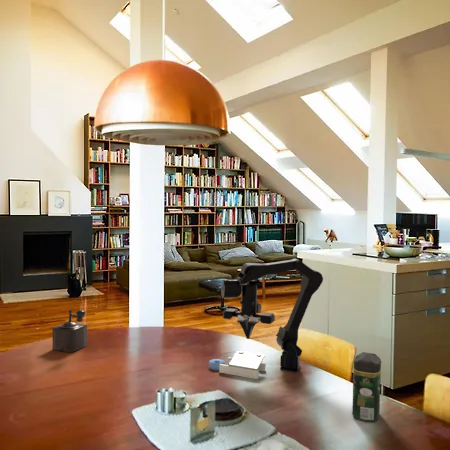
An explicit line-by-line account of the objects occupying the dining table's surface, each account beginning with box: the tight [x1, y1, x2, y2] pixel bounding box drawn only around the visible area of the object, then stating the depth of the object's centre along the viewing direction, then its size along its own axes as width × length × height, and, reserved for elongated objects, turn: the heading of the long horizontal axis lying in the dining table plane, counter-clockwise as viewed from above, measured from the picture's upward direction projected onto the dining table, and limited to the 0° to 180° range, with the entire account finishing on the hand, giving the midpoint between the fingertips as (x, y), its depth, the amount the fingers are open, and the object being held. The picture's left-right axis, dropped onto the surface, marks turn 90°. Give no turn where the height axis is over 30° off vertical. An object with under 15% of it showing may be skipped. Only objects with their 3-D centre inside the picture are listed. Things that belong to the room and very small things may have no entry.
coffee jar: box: [351, 351, 382, 422], centre depth 145 cm, size 10×8×19 cm
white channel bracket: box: [218, 356, 267, 380], centre depth 179 cm, size 15×9×3 cm, turn 67°
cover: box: [229, 350, 265, 369], centre depth 179 cm, size 11×9×1 cm
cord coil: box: [208, 358, 226, 371], centre depth 183 cm, size 6×6×3 cm
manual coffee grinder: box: [51, 308, 88, 353], centre depth 202 cm, size 16×11×18 cm
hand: (248, 338), depth 179 cm, fingers closed
